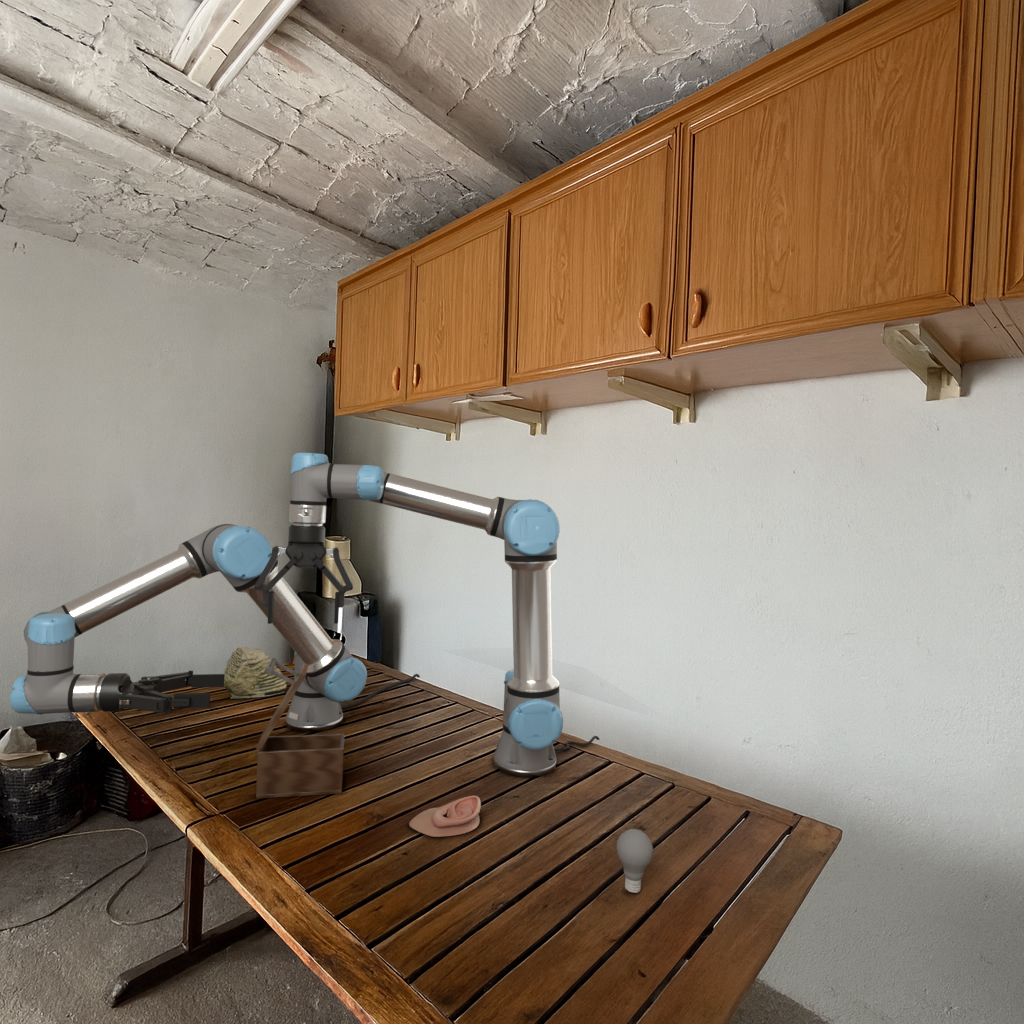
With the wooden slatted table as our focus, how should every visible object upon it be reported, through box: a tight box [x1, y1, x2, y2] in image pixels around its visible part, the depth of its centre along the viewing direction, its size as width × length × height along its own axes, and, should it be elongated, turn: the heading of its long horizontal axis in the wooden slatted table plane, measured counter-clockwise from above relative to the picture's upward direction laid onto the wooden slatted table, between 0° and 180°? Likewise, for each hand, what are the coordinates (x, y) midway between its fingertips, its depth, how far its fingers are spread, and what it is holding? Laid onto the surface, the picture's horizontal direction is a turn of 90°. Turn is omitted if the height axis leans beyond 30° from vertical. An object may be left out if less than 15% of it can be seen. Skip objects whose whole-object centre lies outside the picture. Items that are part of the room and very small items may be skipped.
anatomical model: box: [408, 795, 482, 838], centre depth 125 cm, size 13×4×12 cm
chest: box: [255, 733, 346, 799], centre depth 138 cm, size 17×9×10 cm, turn 103°
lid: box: [255, 657, 309, 751], centre depth 136 cm, size 18×9×8 cm
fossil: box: [223, 646, 288, 699], centre depth 198 cm, size 9×18×15 cm, turn 132°
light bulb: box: [615, 828, 654, 894], centre depth 106 cm, size 6×6×10 cm
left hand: (217, 689), depth 134 cm, fingers open, 13 cm apart
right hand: (303, 622), depth 137 cm, fingers open, 13 cm apart
